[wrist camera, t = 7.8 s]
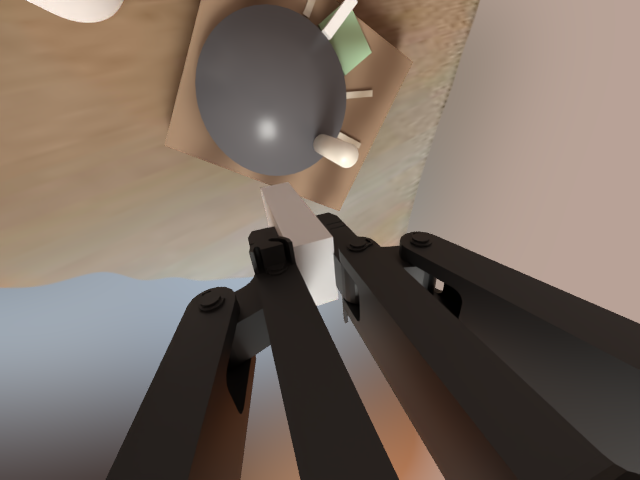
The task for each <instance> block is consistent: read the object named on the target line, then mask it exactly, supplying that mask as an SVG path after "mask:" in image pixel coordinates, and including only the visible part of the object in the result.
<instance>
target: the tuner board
mask: <svg viewBox="0 0 640 480" xmlns="http://www.w3.org/2000/svg"><path fill="white" fill-rule="evenodd" d="M263 4H268V5H277V6H281V7H285V8H288V9H291V10H293V11H295V12H297V13H299V14H301V15H302V16H304V17H305V18H307V19H309V20H310V21H311V22H312V23H313V24H314V25H316V26H317V27H318V28H319V29H320V30H321V32H322V30H323V29H324V27H325V26H326V24H327V23H328V22H329V20H330V19H331V18H332V16H333V15H334V13H335V12H336V11H337V9H338V8H339V7H340V5H341V4H340V3H339V2H338V1H336V0H201V2H200V6H199V10H198V14H197V18H196V22H195V26H194V30H193V34H192V38H191V42H190V46H189V50H188V54H187V58H186V62H185V66H184V70H183V74H182V77H181V81H180V85H179V89H178V93H177V97H176V101H175V105H174V109H173V113H172V117H171V121H170V125H169V129H168V133H167V137H166V141H165V145H164V146H167V147H170V148H172V149H175V150H178V151H180V152H183V153H186V154H188V155H191V156H194V157H196V158H199V159H202V160H204V161H207V162H210V163H212V164H215V165H218V166H220V167H223V168H226V169H228V170H231V171H234V172H236V173H239V174H242V175H244V176H247V177H250V178H252V179H255V180H258V181H260V182H263V183H266V184H269V185H276V184H281V183H286V182H289V184H290V185H291V186H292V187H293V189H294V190H295V191H296V192H297V193H298V195H299V196H301V197H303V198H306V199H309V200H311V201H314V202H317V203H319V204H322V205H325V206H327V207H330V208H333V209H335V210H338V211H340V209H341V206H342V204H343V202H344V200H345V198H346V196H347V194H348V192H349V190H350V188H351V186H352V184H353V182H354V180H355V178H356V176H357V174H358V172H359V170H360V168H361V166H362V164H363V162H364V160H365V158H366V156H367V154H368V152H369V150H370V148H371V146H372V144H373V142H374V140H375V138H376V136H377V134H378V132H379V130H380V128H381V126H382V124H383V122H384V120H385V118H386V116H387V114H388V112H389V110H390V108H391V105H392V103H393V101H394V99H395V97H396V95H397V93H398V91H399V89H400V87H401V85H402V83H403V81H404V79H405V77H406V75H407V73H408V71H409V69H410V67H411V65H412V63H413V61H411V60H410V59H409V58H408V57H406V56H405V55H404V54H403V53H401V52H400V51H399V50H398V49H396V48H395V47H394V46H393V45H391V44H390V43H389V42H388V41H386V40H385V39H384V38H383V37H381V36H380V35H379V34H378V33H376V32H375V31H374V30H373V29H371V28H370V27H369V26H368V25H366V24H365V23H364V22H363V21H361V20H360V19H359V18H358V17H356V16H355V14H354V12H353V10H352V11H351V12H350V13H349V15H348V16H347V18H346V19H345V20H344V22H343V23H342V24H341V26H340V27H339V28H338V30H337V31H336V33H335V34H334V35H333V37H332V38H331V39H330V40H329V42H330V43H331V45H332V46H333V48H334V50H335V52H336V54H337V56H338V58H339V61H340V63H341V66H342V70H343V73H344V78H345V84H346V110H345V116H344V120H343V124H342V127H341V130H340V132H339V135H338V137H337V139H339V140H342V141H345V142H348V143H351V144H353V145H355V146H356V147H357V149H358V153H359V155H358V160H357V162H356V163H355V164H354V165H353V166H352V167H349V168H343V167H341V166H340V165H338V164H336V163H334V162H333V161H331V160H329V159H327V158H326V157H324V156H323V157H322V158H321V159H320V160H319V161H318V162H317V163H315V164H314V165H312V166H311V167H309V168H307V169H305V170H303V171H301V172H298V173H295V174H290V175H284V176H270V175H264V174H259V173H256V172H253V171H250V170H248V169H246V168H244V167H242V166H241V165H239V164H237V163H236V162H234V161H233V160H232V159H231V158H229V157H228V156H227V155H226V154H225V153H224V152H223V151H222V150H221V149H220V148H219V147H218V146H217V144H216V143H215V142H214V140H213V139H212V137H211V136H210V134H209V132H208V131H207V129H206V127H205V125H204V122H203V120H202V118H201V114H200V111H199V108H198V103H197V98H196V87H195V78H196V68H197V63H198V59H199V56H200V53H201V50H202V47H203V45H204V43H205V41H206V40H207V38H208V36H209V35H210V33H211V32H212V31H213V29H214V28H215V27H216V26H217V25H218V24H219V23H220V22H221V21H222V20H223V19H224V18H226V17H227V16H229V15H230V14H232V13H233V12H235V11H237V10H240V9H242V8H245V7H249V6H253V5H263ZM322 33H323V32H322ZM326 38H327V37H326Z"/></svg>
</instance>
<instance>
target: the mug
mask: <svg viewBox="0 0 640 480" xmlns="http://www.w3.org/2000/svg"><path fill="white" fill-rule="evenodd" d="M27 1H29V2H31V3H33V4H35V5H37V6H39V7H41V8H43V9H45V10H47V11H49V12H51V13H53V14H55V15H58V16H60V17H63V18H66V19H69V20H73V21H77V22H85V23H93V22H99V21H103V20H106V19H108V18H109V17H111V16H113V15H114V14H115V13H116V12H117V11H118V9H119V8H120V7H121V5H122V3H123V1H124V0H27Z"/></svg>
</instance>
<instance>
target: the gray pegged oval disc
mask: <svg viewBox="0 0 640 480" xmlns="http://www.w3.org/2000/svg"><path fill="white" fill-rule="evenodd" d="M357 3H358V2H357V0H344V1H343V2H342V4H341V5H340V7H339V8H338V9H337V11H336V12H335V13H334V15H333V16H332V18H331V19H330V20H329V22H328V23H327V24H326V26H325V27H324V29H323V30H322V32H323V33H322V32H321V30H320V29H319V28H318V27H317V26H316V25H314V24H313V23H312V22H311V21H310V20H309V19H307V18H305V17H304V16H302V15H301V14H299V13H297V12H295V11H293V10H291V9H288V8H285V7H281V6H277V5H268V4H263V5H253V6H249V7H245V8H242V9H240V10H237V11H235V12H233V13H232V14H230V15H229V16H227V17H226V18H224V19H223V20H222V21H221V22H220V23H219V24H218V25H217V26H216V27H215V28H214V29H213V31H212V32H211V33H210V35H209V36H208V38H207V40H206V41H205V43H204V45H203V47H202V50H201V53H200V56H199V59H198V63H197V68H196V78H195V87H196V98H197V103H198V108H199V111H200V114H201V118H202V120H203V122H204V125H205V127H206V129H207V131H208V132H209V134H210V136H211V137H212V139H213V140H214V142H215V143H216V144H217V146H218V147H219V148H220V149H221V150H222V151H223V152H224V153H225V154H226V155H227V156H228V157H229V158H231V159H232V160H233V161H234V162H236V163H237V164H239V165H241V166H242V167H244V168H246V169H248V170H250V171H253V172H256V173H259V174H264V175H270V176H284V175H290V174H295V173H298V172H301V171H303V170H305V169H307V168H309V167H311V166H312V165H314V164H315V163H317V162H318V161H319V160H320V159H321V158H322V157H323V156H324V157H326V158H327V159H329V160H331V161H333V162H334V163H336V164H338V165H340V166H341V167H343V168H349V167H352V166H353V165H354V164H355V163H356V162H357V160H358V155H359V153H358V149H357V147H356V146H355V145H353V144H351V143H348V142H345V141H342V140H339V139H337V137H338V135H339V132H340V130H341V127H342V124H343V120H344V116H345V110H346V84H345V78H344V73H343V70H342V66H341V63H340V61H339V58H338V56H337V54H336V52H335V50H334V48H333V46H332V45H331V43H330V42H329V40H330V39H331V38H332V37H333V35H334V34H335V33H336V31H337V30H338V28H339V27H340V26H341V24H342V23H343V22H344V20H345V19H346V18H347V16H348V15H349V13H350V12H351V11H352V9H353V8H354V7H355V5H356V4H357ZM326 37H327V38H326Z"/></svg>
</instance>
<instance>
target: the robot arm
mask: <svg viewBox="0 0 640 480" xmlns="http://www.w3.org/2000/svg"><path fill="white" fill-rule="evenodd" d="M260 189H261V194H262V198H263V203H264V207H265V212H266V216H267V221H268V225H269V228H265V229H260V230H256V231H252V232H251V234H250V236H249V237H248V240H249V245H250V251H249V254H250V257H251V261H252V265H253V268H254V272H255V275H254V278H253V279H252V280H251V282H250V283H249V284H247V285H246V286H245V287H243V288H241V289H239V290H238V291H236V292H233V291H232V289H229V288H227V287H216V288H212V289H208V290H206V291H204V292H202V293H200V294H199V295H197V296H196V297H195V298H193V299H192V301H191V302H190V303H189V305H188V306H187V308H186V310H185V313H184V315H183V317H182V319H181V321H180V323H179V325H178V327H177V330H176V332H175V334H174V336H173V338H172V340H171V343H170V345H169V346H168V349H167V351H166V353H165V355H164V357H163V359H162V361H161V363H160V366H159V368H158V370H157V372H156V374H155V376H154V378H153V380H152V383H151V385H150V387H149V389H148V391H147V393H146V395H145V397H144V400H143V402H142V404H141V406H140V408H139V410H138V412H137V414H136V416H135V419H134V421H133V423H132V425H131V427H130V429H129V431H128V433H127V436H126V438H125V440H124V442H123V444H122V446H121V448H120V450H119V452H118V455H117V457H116V459H115V461H114V463H113V465H112V467H111V469H110V472H109V474H108V476H107V478H106V480H240V478H241V470H242V463H243V455H244V447H245V440H246V432H247V424H248V417H249V408H250V400H251V393H252V385H253V378H254V370H255V363H256V354H257V353H259V352H260V351H262V350H263V349H265V348H266V347H268V346H269V345H271V348H272V353H273V357H274V361H275V366H276V371H277V375H278V379H279V384H280V389H281V393H282V398H283V402H284V407H285V411H286V416H287V420H288V425H289V429H290V434H291V439H292V443H293V448H294V452H295V457H296V461H297V466H298V470H299V475H300V479H301V480H399V478H398V476H397V474H396V472H395V470H394V468H393V466H392V464H391V462H390V459H389V457H388V455H387V453H386V451H385V449H384V448H383V445H382V443H381V441H380V438H379V436H378V434H377V432H376V430H375V428H374V426H373V424H372V422H371V420H370V417H369V415H368V413H367V411H366V409H365V407H364V405H363V403H362V401H361V399H360V397H359V394H358V392H357V390H356V388H355V386H354V384H353V382H352V380H351V378H350V376H349V373H348V371H347V369H346V367H345V365H344V363H343V361H342V359H341V357H340V355H339V353H338V350H337V348H336V346H335V344H334V342H333V340H332V338H331V336H330V334H329V332H328V329H327V327H326V325H325V323H324V321H323V319H322V317H321V315H320V313H319V311H318V308H317V306H318V305H321V304H324V303H327V302H330V301H333V300H337V299H338V291H337V288H338V290H339V291H340V293H341V294H342V300H343V314H344V321H345V323H347V322H348V318H347V316H349V317H350V319H351V321H352V323H353V324H354V326H355V328H356V329H357V331H358V333H359V334H360V336H361V338H362V339H363V341H364V343H365V345H366V346H367V348H368V350H369V351H370V353H371V354H372V356H373V358H374V360H375V361H376V363H377V364H378V366H379V368H380V370H381V371H382V373H383V375H384V377H385V378H386V380H387V382H388V383H389V385H390V387H391V388H392V390H393V392H394V394H395V395H396V397H397V398H398V400H399V402H400V404H401V405H402V407H403V409H404V410H405V412H406V414H407V415H408V417H409V419H410V420H411V422H412V424H413V426H414V427H415V429H416V431H417V432H418V434H419V435H420V437H421V439H422V441H423V443H424V444H425V446H426V447H427V449H428V451H429V453H430V454H431V456H432V458H433V459H434V461H435V463H436V464H437V466H438V468H439V469H440V471H441V473H442V474H443V476H444V478H445V480H640V324H639V323H637V322H634V321H632V320H630V319H627V318H625V317H623V316H620V315H618V314H616V313H614V312H611V311H609V310H606V309H604V308H602V307H600V306H597V305H595V304H593V303H590V302H588V301H586V300H583V299H581V298H579V297H576V296H574V295H572V294H570V293H567V292H565V291H563V290H560V289H558V288H556V287H553V286H551V285H549V284H546V283H544V282H542V281H539V280H537V279H535V278H532V277H530V276H528V275H525V274H523V273H521V272H519V271H516V270H514V269H512V268H509V267H507V266H504V265H502V264H500V263H498V262H495V261H493V260H491V259H488V258H486V257H484V256H481V255H479V254H477V253H475V252H472V251H470V250H467V249H465V248H463V247H461V246H458V245H456V244H454V243H451V242H449V241H447V240H444V239H442V238H440V237H437V236H435V235H433V234H429V233H426V232H411V233H407V234H405V235H403V236H402V237H401V239H400V246H391V247H380V246H379V245H378V244H377V243H376V242H375V241H373V240H372V239H370V238H366V237H357V236H356V235H355V234H354V233H353V232H352V231H351V230H350V229H349V228H348V226H346V224H345V223H344V222H342V220H341V219H340V218H339V217H338V216H336V215H333V214H331V213H325V214H320V215H316V216H315V214H314V213H313V212H312V211H311V209H310V208H309V207H308V206H307V204H306V203H305V202H304V201H303V200H302V198H301V197H300V196H299V195H298V193H297V192H296V191H295V190H294V189H293V187H292V186H291V185H290V184H289V182H286V183H281V184H276V185H271V186H266V187H261V188H260ZM436 278H437V279H439V280H440V281H442V282H444V288H443V291H441V290H438V289H436V288H435V284H436Z"/></svg>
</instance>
